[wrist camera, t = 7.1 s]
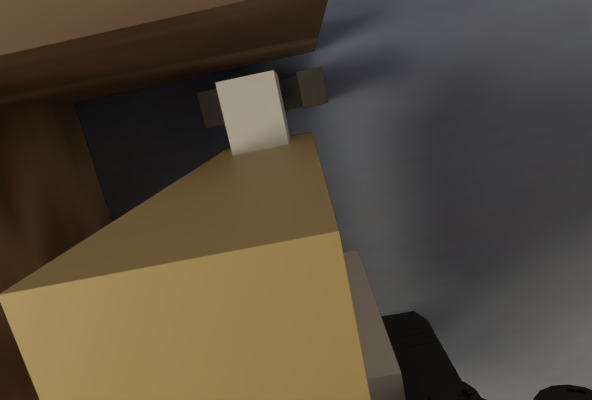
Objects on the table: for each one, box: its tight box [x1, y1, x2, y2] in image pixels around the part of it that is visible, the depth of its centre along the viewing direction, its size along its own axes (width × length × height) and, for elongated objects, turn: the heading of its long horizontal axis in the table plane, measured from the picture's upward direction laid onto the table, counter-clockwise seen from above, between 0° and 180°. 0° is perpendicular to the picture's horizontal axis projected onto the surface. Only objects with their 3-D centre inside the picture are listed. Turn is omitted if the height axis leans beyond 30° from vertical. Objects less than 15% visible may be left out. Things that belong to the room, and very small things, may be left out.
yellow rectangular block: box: [0, 70, 371, 400], centre depth 10 cm, size 15×3×11 cm, turn 12°
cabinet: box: [0, 0, 328, 400], centre depth 16 cm, size 19×13×12 cm
